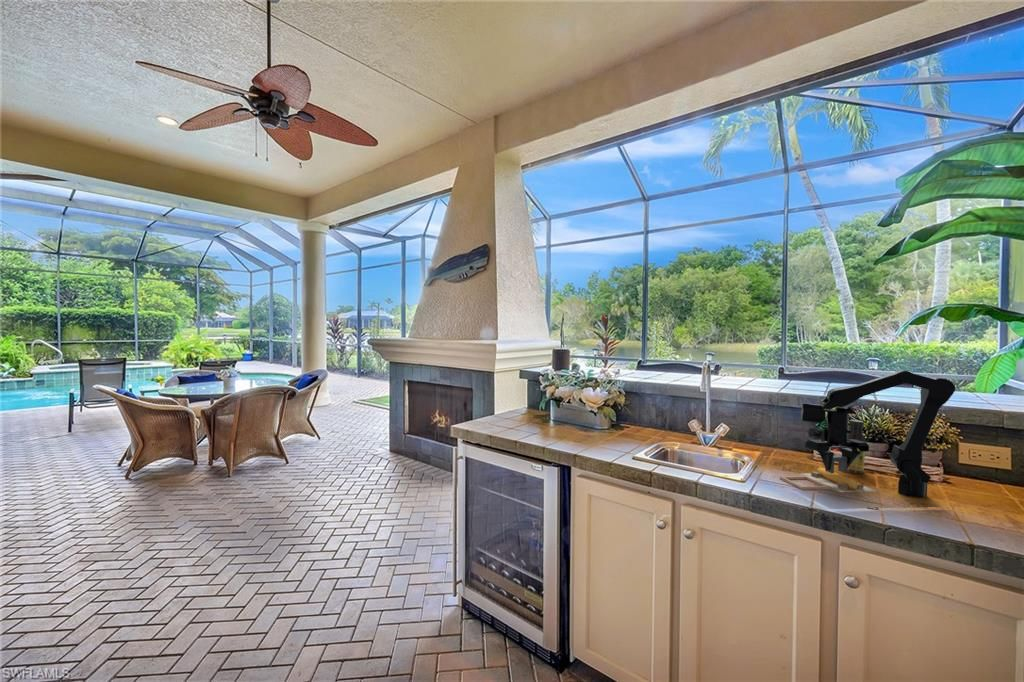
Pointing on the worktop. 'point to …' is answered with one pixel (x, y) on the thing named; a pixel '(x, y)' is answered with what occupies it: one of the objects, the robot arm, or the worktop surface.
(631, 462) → the worktop surface
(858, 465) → the sauce bottle
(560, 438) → the worktop surface
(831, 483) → the cradle board
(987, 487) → the worktop surface
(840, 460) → the dark gray horseshoe block
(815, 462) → the worktop surface
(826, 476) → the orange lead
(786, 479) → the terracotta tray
